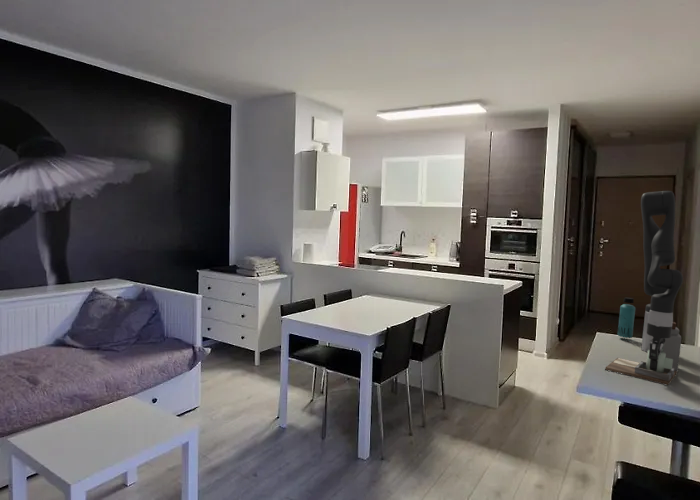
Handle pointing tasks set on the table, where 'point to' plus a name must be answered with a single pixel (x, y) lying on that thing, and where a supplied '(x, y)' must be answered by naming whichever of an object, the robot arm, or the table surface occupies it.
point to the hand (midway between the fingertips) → (654, 368)
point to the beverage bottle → (626, 319)
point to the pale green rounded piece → (660, 362)
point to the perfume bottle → (673, 346)
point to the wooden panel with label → (641, 371)
